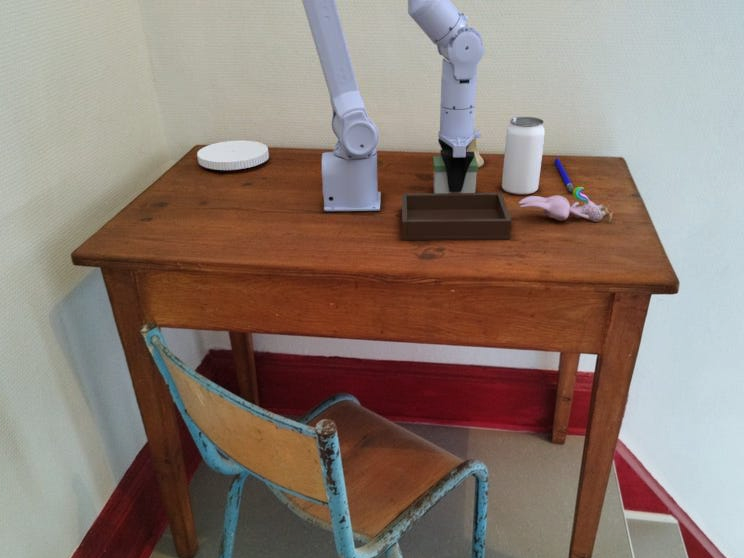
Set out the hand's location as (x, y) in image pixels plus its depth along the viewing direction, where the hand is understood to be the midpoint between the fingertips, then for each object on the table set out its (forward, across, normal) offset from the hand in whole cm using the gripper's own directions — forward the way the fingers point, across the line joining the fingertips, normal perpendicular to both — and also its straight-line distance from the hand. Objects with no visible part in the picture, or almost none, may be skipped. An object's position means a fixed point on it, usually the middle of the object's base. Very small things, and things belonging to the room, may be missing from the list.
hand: (454, 185), depth 117 cm
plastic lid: (+2, +18, +43) cm, 47 cm away
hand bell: (+2, +17, -3) cm, 17 cm away
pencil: (+2, +8, -21) cm, 23 cm away
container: (+2, 0, 0) cm, 2 cm away
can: (+2, +2, -12) cm, 12 cm away
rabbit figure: (+2, -12, -17) cm, 21 cm away
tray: (+2, -14, +1) cm, 14 cm away
